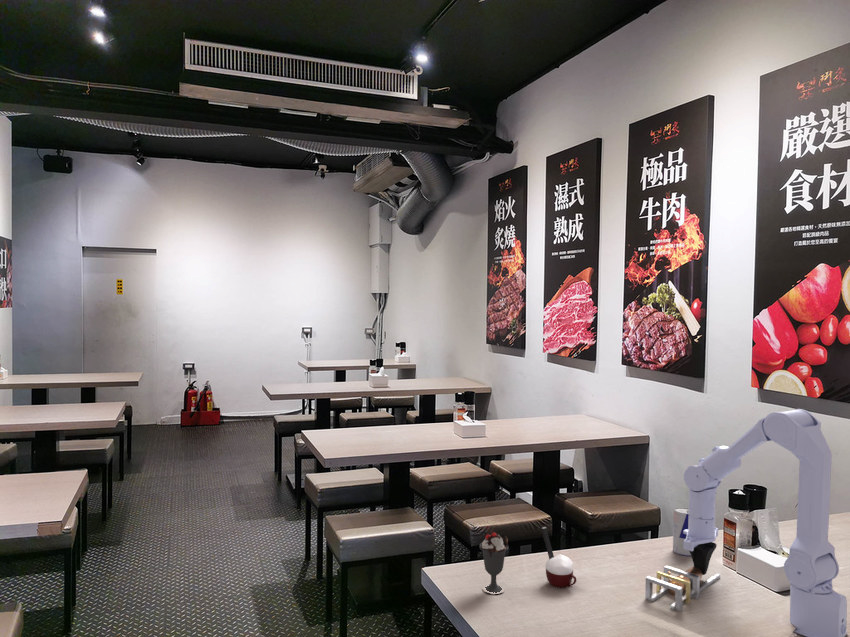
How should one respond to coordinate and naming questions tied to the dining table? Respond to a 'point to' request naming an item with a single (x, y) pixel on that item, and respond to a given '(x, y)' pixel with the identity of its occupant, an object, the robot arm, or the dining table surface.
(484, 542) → the sundae
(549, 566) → the cocoa
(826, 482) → the robot arm
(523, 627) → the dining table surface
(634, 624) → the dining table surface
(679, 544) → the energy drink
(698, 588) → the white wire rack
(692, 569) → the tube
